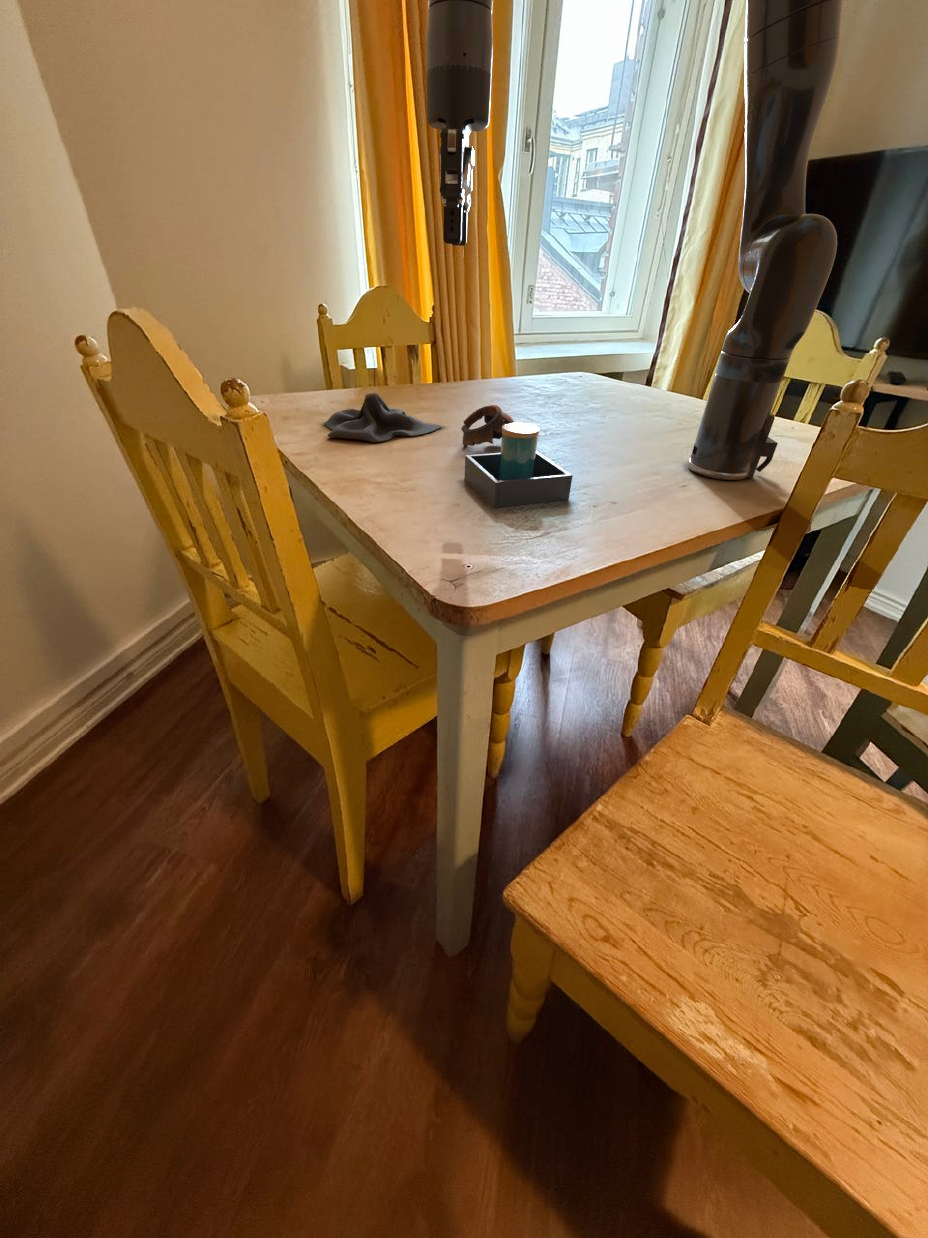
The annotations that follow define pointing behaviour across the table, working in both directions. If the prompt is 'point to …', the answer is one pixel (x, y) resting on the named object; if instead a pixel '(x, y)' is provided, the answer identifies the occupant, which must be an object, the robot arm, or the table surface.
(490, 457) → the bin
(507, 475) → the spice jar
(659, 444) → the table surface
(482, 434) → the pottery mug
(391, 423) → the cloth
